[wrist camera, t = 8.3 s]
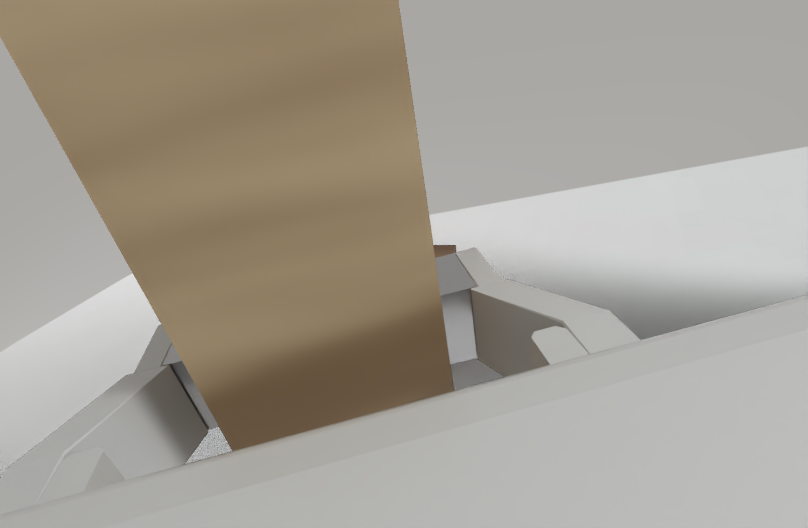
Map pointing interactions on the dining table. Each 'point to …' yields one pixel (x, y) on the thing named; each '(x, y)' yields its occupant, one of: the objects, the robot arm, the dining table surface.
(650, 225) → the dining table surface
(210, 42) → the light wooden block
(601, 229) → the dining table surface
